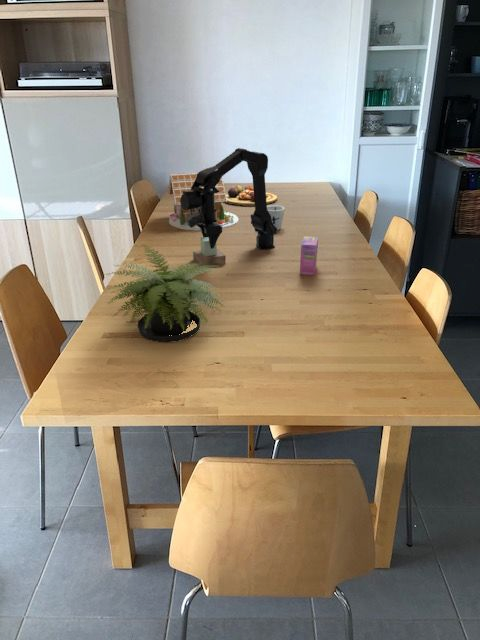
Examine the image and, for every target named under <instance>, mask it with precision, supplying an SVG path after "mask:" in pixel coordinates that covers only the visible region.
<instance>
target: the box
mask: <svg viewBox="0 0 480 640" xmlns="http://www.w3.org/2000/svg"><path fill="white" fill-rule="evenodd" d="M318 244H319V236H308V235H304V236H303V238H302V241H301V244H300V245H301V246H300V257H299V258H300V260H299V261H300V262H299V275H304V276H315V273H316V269H317V262H318V261H317V260H318V249H319V248H318V247H319V245H318Z"/></svg>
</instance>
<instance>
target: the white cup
mask: <svg viewBox="0 0 480 640" xmlns="http://www.w3.org/2000/svg"><path fill="white" fill-rule="evenodd" d="M267 210H268V212H269V214H270V215H271V219H272V224H273V225H274V226H275V227H276V228H277V231H279V229H280V230H281V229H282V226H283V220H284V214H285V210H286V209H285V207H284V206H281V205H279V204H278V205H276V204H275V205H274V204H273V205H271V204H268V205H267Z"/></svg>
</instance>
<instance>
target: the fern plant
mask: <svg viewBox="0 0 480 640" xmlns="http://www.w3.org/2000/svg"><path fill="white" fill-rule="evenodd" d="M142 247H144V256H146V257H147V258H146V260H147V262H148V263H152V264H154V265H151V264H150V266H151V267H152V268H155V269H153V270H152V269H150V268H147V267H146V266H144V265H141V264H137V263H134V264H133V263H131V262H130V263H125V264H124V263H122V264H117V265H115V264H114V265H113V266H114V267H123V268H127V269H129V271H128V270H126V269H125V270H122V271H120V270H118V271H117V272H116V271H114V272H113V271H111V273H110V272H109V273H104V274H103V275H107V276H108V275H111V274H114V275H119V276H122V275H124V277H126V276H130V275H131V277H133V278H134V277H137V279H134V280H130V281H129V282H127V281H124V283H118V284H114V285H113V288H114V289H115V288H116V289H117V288H118V289H117V290H114V291H111V293H115V292H118V293H116V294H115V296H113V297H112V298H110V299H109V301H107V304H112V302H116V300H120V299H125V297H126V299H127V298H129V299H128V300H129V301H125V302H124V303H125V304H123V305H121V306H120V307H121V308H119V309H117V312H115V313H114V315H112V316H111V318H113V317H114V316H118V313H121V312H124V311H125V312H124V313H125V314H124V315H123V316H122V317H123V318H124V317H126V316H128V314H130V311H133V312H132V316H130V319H131V320H130V323H129V325H128V326H131V324H134V322H136V320H137V318H139V317H141V316H142V315H143V314H144V315H143V316H142V317H141V318H139V320H138V322H137V329H138V333H139V334H140V336H141V337H142V336H143V337H142V338H144V339H146V340H147V339H148V341H151V340H152V342H155V341H158V342H157V343H173V342H172V341H176V342H180V341H179V340H181V341H183V340H182V339H184V340H186V339H185V338H187V339H189V338H188V337H190V336H191V335H193V334H195V333H196V332H197V331H198V330H199V331H200V329H199V328H200V327H201V321H202V320H204V321H205V322H206V323H208V318H207V317H206V316H205V314H204V312H203V311H202V308H201V306H203V305H204V306H205V307H206V308H209V309H211V310H214V311H215V310H217V311H219V312H220V313H222V311H221V309H220V308H218V306H217V305H220V306H222V307H225V305H224V304H222V303H225V304H227V303H226V302H225V300H224V299H221V298H219V297H217V296H220V297H221V295H220V294H219V293H218V292H216V291H214V290H216V289H217V290H220V291H222V289H221V288H219V287H217V286H214V285H213V283H211V284H210V283H208V282H206V281H203V280H199V279H198V280H197V279H196V278H194V277H196V276H198V275H202V274H203V273H206V272H209V271H213V270H217V268H215V267H217V266H215V265H214V266H210V265H209V266H210V267H208V266H207V267H206V265H205V266H204V265H203V266H201V265H200V266H201V267H200V266H199V265H198V264H197V263H196V262H195V263H189V264H187V263H185V264H184V265H183V264H181V265H180V266H178V267H176V266H175V267H173V266H170V264H167V263H168V260H166V261H165V259H166V258H165V255H163V254H162V253H159V250H155V249H154V248H151V247H150V246H147V245H145V244H143V245H142ZM145 253H146V254H145ZM162 256H163V257H162ZM166 264H167V265H166ZM170 267H171V268H170ZM140 271H141V272H140ZM193 278H194V279H193ZM110 289H111V287H108V288H107V290H110ZM130 297H131V298H130ZM216 306H217V307H216ZM192 320H193V321H195V323H196V324H197V327H196V328H194V329H193V330H191V331H189V332H187V333H183V334H181V333H182V332H183V331H186V329H187V328H188V327H187V326H188V325H189V327H190V324H191V322H192ZM192 324H193V323H192ZM199 331H198V332H199ZM198 332H197V333H198ZM197 333H196V334H197ZM179 334H180V335H179ZM196 334H195V335H196ZM169 335H170V336H169ZM171 335H172V336H171ZM193 336H194V335H193ZM191 337H192V336H191ZM191 337H190V338H191Z"/></svg>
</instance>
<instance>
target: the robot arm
mask: <svg viewBox="0 0 480 640" xmlns="http://www.w3.org/2000/svg"><path fill="white" fill-rule="evenodd" d="M242 162H246V166H247V169H248V171H249V172H250V174H251V176H252V177H251V178H252V186H253V189H254V201H255V206H254V211H253V213H252V214H250V224H251V225H252V228H254V231H255V232H257V235H256V241H255V242H256V243H255V246H257V247H258V248H259V249H260V250H266V249H267V250H268V249H274V248H276V245H274V241H275V240H274V239H275V235H276V234H277V232H278V230H277V228H276V227H275V226H274V225H273V224H272V219H271V215H270V214H269V212H268V210H267V206H268V205H267V201H266V192H267V191H266V178H265V177H266V176H265V175H266V173H267V170H268V166H269V157H268V155H267V154H266V153H265V152H259V151H258V152H257V151H251V150H249V149H245V148H239V147H238V148H236V149H235V150H234V151H233V152H231V153H230V154H229V155H227V156H226V157H225V158H224V159H222V160H220V161H219V162H217V164H215V165H213V166H211V167H207V168H204V169H202V170H200V171H198V172H197V173H198V174H197V177H196V180H195V182H194V183H193V185H192V187H191V190H190V191H183V195H182V196H181V199H180V203H181V206H182V208H183V209H184V210H189V209H194V208H199V209H198V212H196V213H194V214H191V215H189V216H187V217H186V218H185V219H186V221H187V224H188V226H189V227H190V228H192V227H194V226H195V225H197V226H198V227H200V229H201V230H200V231H201V236H202V238H203V237H208V238H209V243H210V248H211V249H213V248H214V246H215V244H216V245H217V241H218V239H219V237H220V235H221V234H222V233H223V228H222V227H221V226H220V225H219V224H218V223H215V222H217V220H216V219H215V212H216V208H215V196H214V193H219V190H217V189H216V187H215V186H216V185H217V184H218V183H219V182H220V179H221V177H222V178H223V176H225V174H227V173H229V172H230V171H231V170H232V169H234V168H235V167H237V166H238V165H239V164H241V163H242ZM199 186H201V187H204V188H201V187H199Z"/></svg>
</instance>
